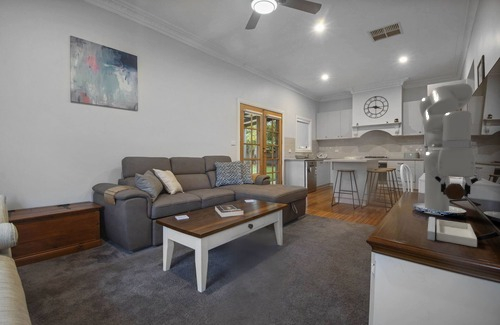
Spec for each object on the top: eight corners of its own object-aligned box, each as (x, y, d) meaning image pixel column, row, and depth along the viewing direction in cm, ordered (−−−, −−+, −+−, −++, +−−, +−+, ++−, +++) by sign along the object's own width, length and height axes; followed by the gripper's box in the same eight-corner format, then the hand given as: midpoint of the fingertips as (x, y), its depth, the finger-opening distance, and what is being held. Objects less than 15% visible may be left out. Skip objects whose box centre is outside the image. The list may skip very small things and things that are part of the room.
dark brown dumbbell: (457, 197, 87) (457, 203, 77) (443, 190, 90) (440, 194, 79) (468, 185, 85) (469, 189, 74) (453, 178, 88) (452, 181, 77)
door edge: (428, 223, 96) (429, 216, 96) (434, 224, 95) (435, 217, 95) (427, 239, 80) (427, 230, 79) (434, 240, 78) (434, 232, 78)
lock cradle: (436, 225, 94) (436, 219, 94) (469, 230, 88) (470, 223, 87) (436, 239, 79) (436, 232, 79) (476, 247, 72) (477, 239, 72)
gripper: (488, 145, 79) (486, 196, 80) (426, 146, 90) (425, 191, 91) (492, 144, 73) (490, 199, 74) (425, 146, 84) (425, 194, 85)
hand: (454, 194), depth 83 cm, fingers closed on dark brown dumbbell, 5 cm apart
